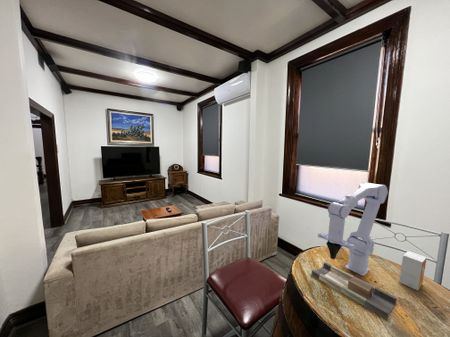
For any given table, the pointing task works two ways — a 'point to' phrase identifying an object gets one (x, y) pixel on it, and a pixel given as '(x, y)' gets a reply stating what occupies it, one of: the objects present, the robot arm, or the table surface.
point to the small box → (412, 270)
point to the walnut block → (360, 287)
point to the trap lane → (336, 278)
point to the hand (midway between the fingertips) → (333, 258)
